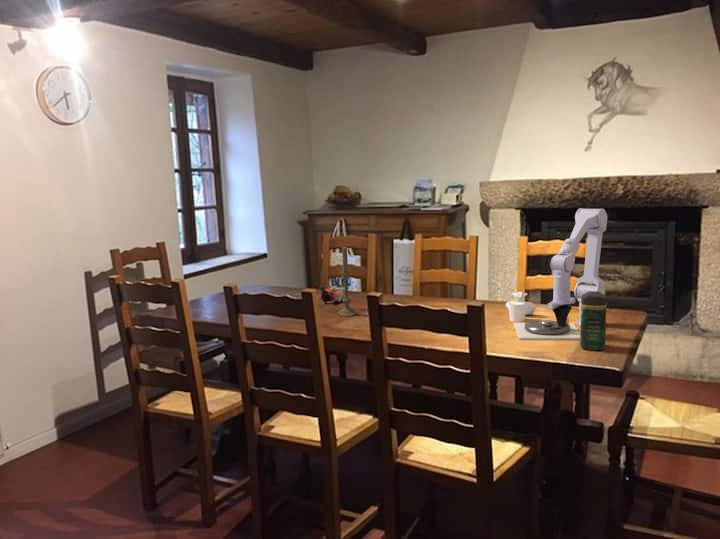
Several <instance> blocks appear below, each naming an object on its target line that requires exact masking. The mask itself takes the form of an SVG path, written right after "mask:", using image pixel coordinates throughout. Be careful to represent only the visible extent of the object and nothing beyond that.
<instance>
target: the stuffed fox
mask: <svg viewBox="0 0 720 539" xmlns="http://www.w3.org/2000/svg"><path fill="white" fill-rule="evenodd" d="M319 290H320V292H321V294H320V299H321V300H322V302H323V303H324V304H325V303H326V302H328V301H329V302H330V303H333V302H335V301H341V300H342V301H343V299H344V297H345V293H344V292H345V291H344V290H337V291H333V290H331V289H329V288H325V287H323V286H319ZM342 301H341V302H342Z"/></svg>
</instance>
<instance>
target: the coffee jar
mask: <svg viewBox="0 0 720 539" xmlns="http://www.w3.org/2000/svg"><path fill="white" fill-rule="evenodd" d="M606 330H607V296H606V294H605V295H604V294H602V293H601V292H593V291H588V292H587V293H585V294H583V295H582V297H581V326H580V340H579V344H580V348H582V349H584V350H589V351H600V350H601V351H602V350H604V349H605V347H606V335H607V333H606Z"/></svg>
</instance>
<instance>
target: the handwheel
mask: <svg viewBox="0 0 720 539" xmlns="http://www.w3.org/2000/svg"><path fill="white" fill-rule="evenodd" d="M569 319H570V317H567V320H566V324H565V326H558V324H557V320H550V319H545V320H534V321H533V320H532V321H529V322H525V323H526V324H525V330H527V331H529V332H533V333H539V334H561V333H566V332H569V331H570V325H569V323H570V322H569V321H570V320H569Z"/></svg>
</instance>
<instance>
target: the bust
mask: <svg viewBox="0 0 720 539" xmlns="http://www.w3.org/2000/svg"><path fill="white" fill-rule="evenodd" d="M512 295H513V296H514V300H515V301H514V300H512V301H510V300H509V301H508V302H506V303H505V308H506V309H507V311H508V313H509V304H508V303H510V302H524V303H526V311H525V316H527V315H533V314H534V313H535V310H536V304H535V303H534V302H531V301H525V300H526V298H525V297H527V296H528V293H524V292H523V291H520V290H519V291H517V292H512Z"/></svg>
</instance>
